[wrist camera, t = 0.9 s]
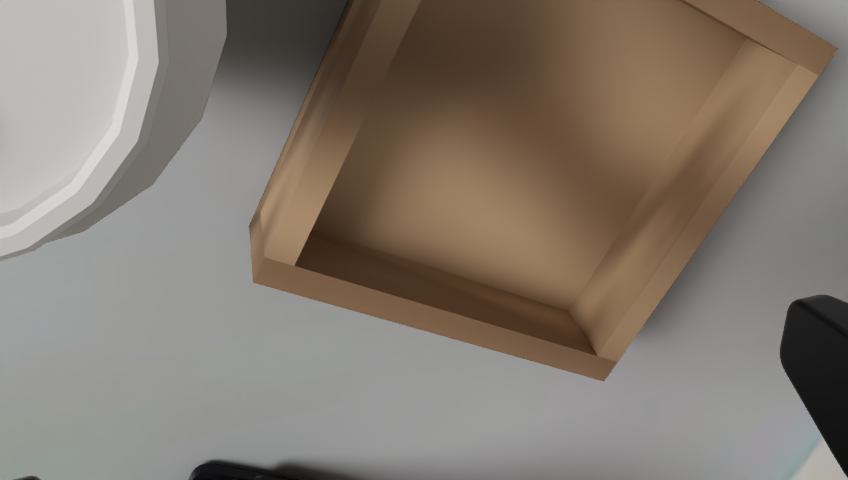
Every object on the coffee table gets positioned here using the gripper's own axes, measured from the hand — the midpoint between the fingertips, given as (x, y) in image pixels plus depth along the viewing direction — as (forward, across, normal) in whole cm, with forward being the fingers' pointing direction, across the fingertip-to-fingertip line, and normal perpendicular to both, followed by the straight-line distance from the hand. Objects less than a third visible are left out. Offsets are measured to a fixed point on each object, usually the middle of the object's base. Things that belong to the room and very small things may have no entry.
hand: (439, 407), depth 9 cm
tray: (+14, -5, +3) cm, 15 cm away
